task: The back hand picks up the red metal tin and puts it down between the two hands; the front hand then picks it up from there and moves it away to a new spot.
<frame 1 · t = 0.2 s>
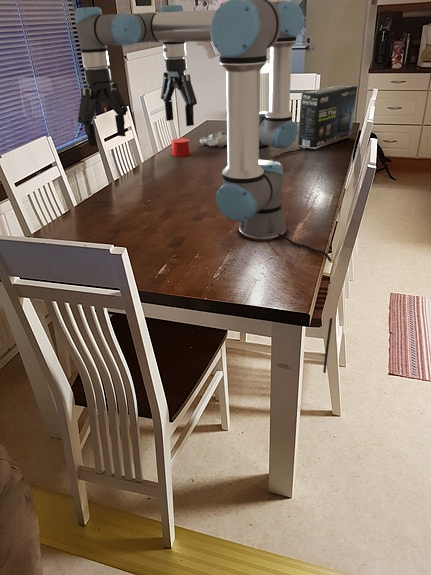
front hand: (107, 140, 147), 28 cm above the table, tool pointing down, fingers open, 13 cm apart
back hand: (179, 122, 167), 28 cm above the table, tool pointing down, fingers open, 13 cm apart
tin: (181, 154, 236), on the table
fossil: (215, 144, 251), on the table
router box: (325, 143, 245), on the table
handgun: (253, 191, 184), on the table
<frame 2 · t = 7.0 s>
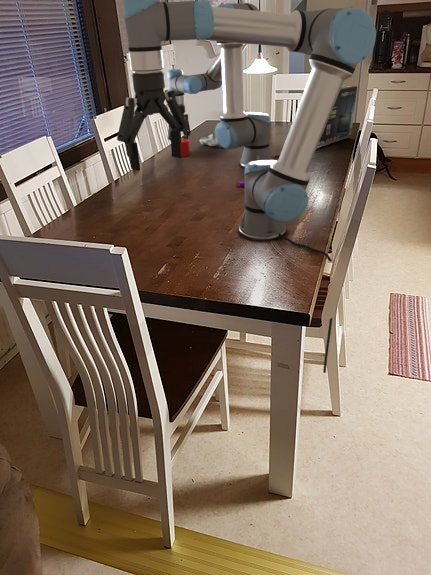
front hand: (156, 163, 117), 30 cm above the table, tool pointing down, fingers open, 13 cm apart
back hand: (180, 151, 235), 2 cm above the table, tool pointing down, fingers closed on tin, 9 cm apart
tin: (181, 154, 236), on the table, touching back hand
everything else where it was.
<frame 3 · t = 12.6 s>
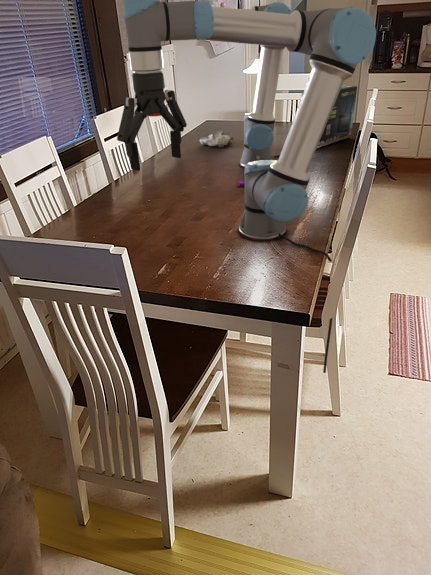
front hand: (156, 163, 117), 30 cm above the table, tool pointing down, fingers open, 13 cm apart
back hand: (154, 110, 191), 28 cm above the table, tool pointing down, fingers closed on tin, 9 cm apart
tin: (155, 114, 192), point 26 cm above the table, touching back hand
everything else where it was.
when the back hand's fingers open (4 cm above the table, at t = 18.5 s): tin drops 2 cm, on the table.
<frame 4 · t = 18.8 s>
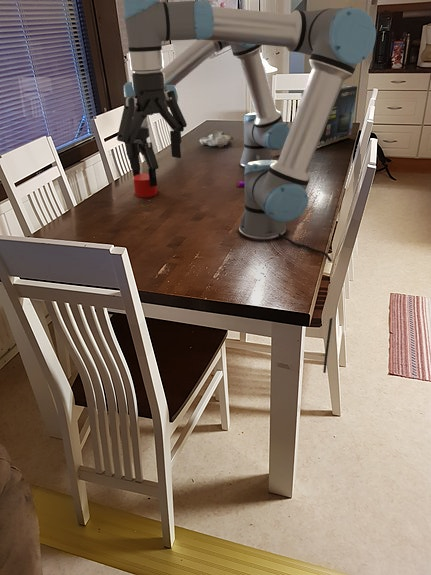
front hand: (156, 163, 117), 30 cm above the table, tool pointing down, fingers open, 13 cm apart
back hand: (145, 182, 183), 5 cm above the table, tool pointing down, fingers open, 13 cm apart
tin: (146, 193, 186), on the table
everything else where it was.
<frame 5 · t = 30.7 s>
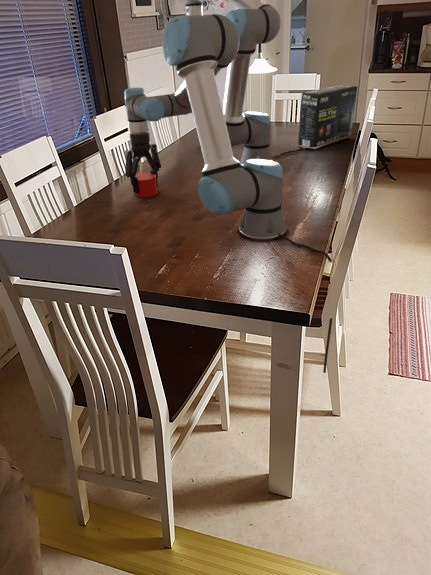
front hand: (145, 189, 185), 2 cm above the table, tool pointing down, fingers closed on tin, 9 cm apart
back hand: (197, 69, 217), 39 cm above the table, tool pointing down, fingers open, 13 cm apart
tin: (146, 193, 186), on the table, touching front hand
everything else where it was.
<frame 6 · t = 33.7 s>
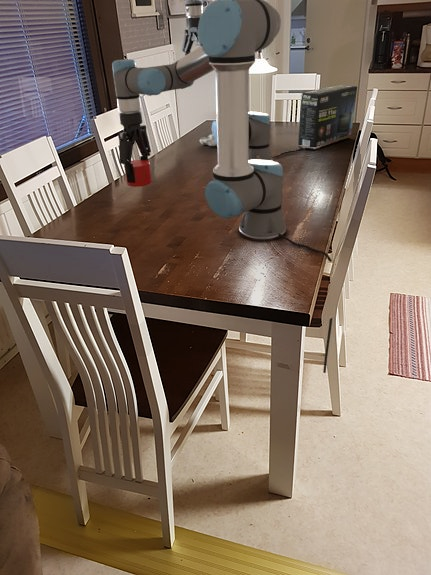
front hand: (138, 178, 163), 12 cm above the table, tool pointing down, fingers closed on tin, 9 cm apart
back hand: (197, 69, 217), 39 cm above the table, tool pointing down, fingers open, 13 cm apart
tin: (139, 182, 164), point 11 cm above the table, touching front hand
everything else where it was.
when the front hand's fingers open (4 cm above the table, at t = 36.8 s): tin drops 2 cm, on the table.
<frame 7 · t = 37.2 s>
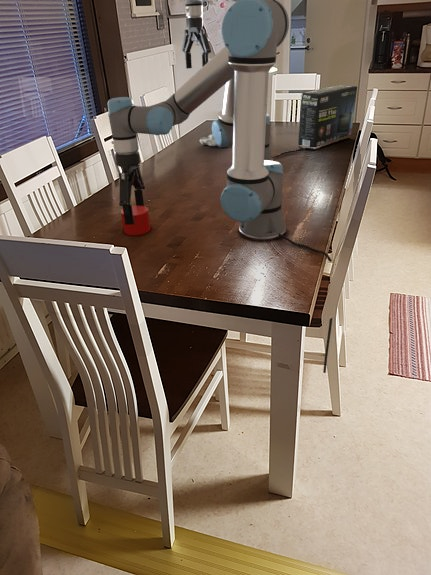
front hand: (135, 216, 152), 5 cm above the table, tool pointing down, fingers open, 13 cm apart
back hand: (197, 69, 217), 39 cm above the table, tool pointing down, fingers open, 13 cm apart
tin: (137, 229, 155), on the table
everything else where it was.
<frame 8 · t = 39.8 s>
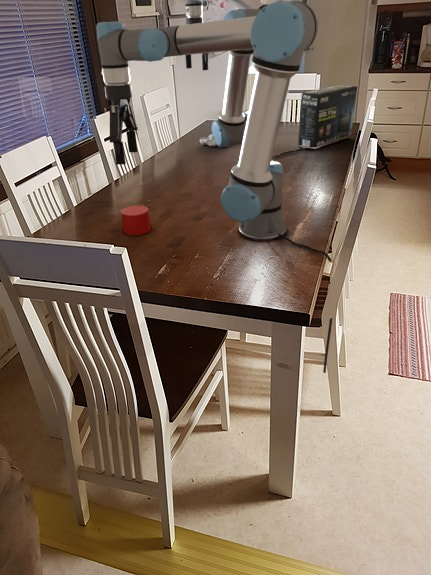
front hand: (127, 157, 142), 24 cm above the table, tool pointing down, fingers open, 13 cm apart
back hand: (197, 69, 217), 39 cm above the table, tool pointing down, fingers open, 13 cm apart
nothing on the table moved.
at the end: tin inside the target area (0.0 cm from its centre), on the table; tin tilted 0°; the two hands never held the tin at the same time; the front hand is holding nothing; the back hand is holding nothing; tin at rest at the end (0.0 cm/s) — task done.
